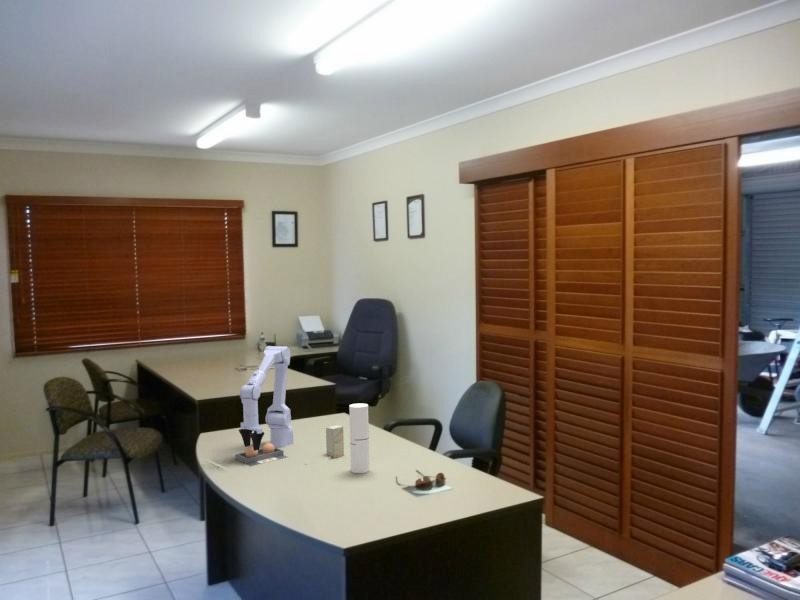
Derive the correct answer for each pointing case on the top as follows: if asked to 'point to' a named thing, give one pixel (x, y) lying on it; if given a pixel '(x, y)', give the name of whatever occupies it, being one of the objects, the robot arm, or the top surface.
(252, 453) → the terracotta ball
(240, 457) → the grey rimmed tray
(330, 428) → the skincare box
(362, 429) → the cylindrical container
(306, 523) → the top surface
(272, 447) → the resting terracotta ball
